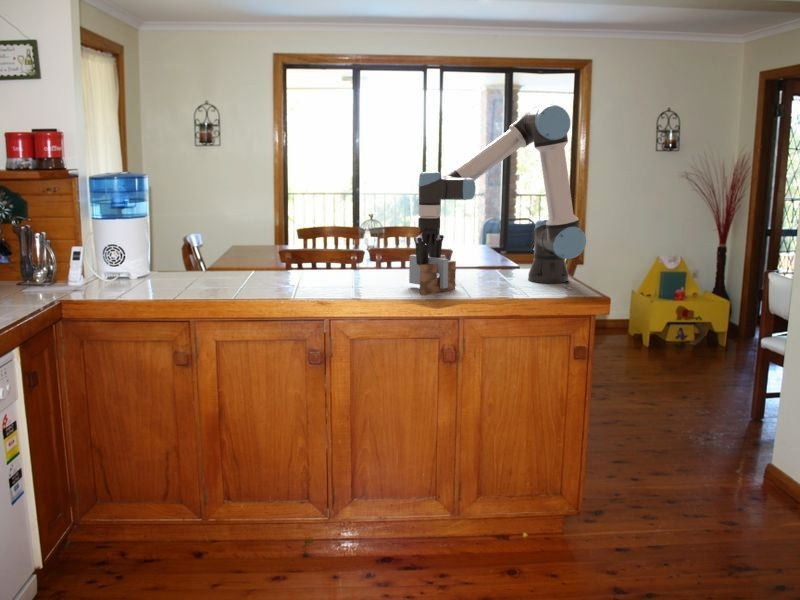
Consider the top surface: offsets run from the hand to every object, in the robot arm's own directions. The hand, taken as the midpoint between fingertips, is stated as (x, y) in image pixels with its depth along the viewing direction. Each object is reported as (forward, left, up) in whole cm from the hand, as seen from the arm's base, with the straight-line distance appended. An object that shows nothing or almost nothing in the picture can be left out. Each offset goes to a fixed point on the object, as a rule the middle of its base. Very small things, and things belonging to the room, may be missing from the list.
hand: (428, 283), depth 267 cm
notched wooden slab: (-3, +3, -2) cm, 5 cm away
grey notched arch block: (0, 0, -1) cm, 1 cm away
